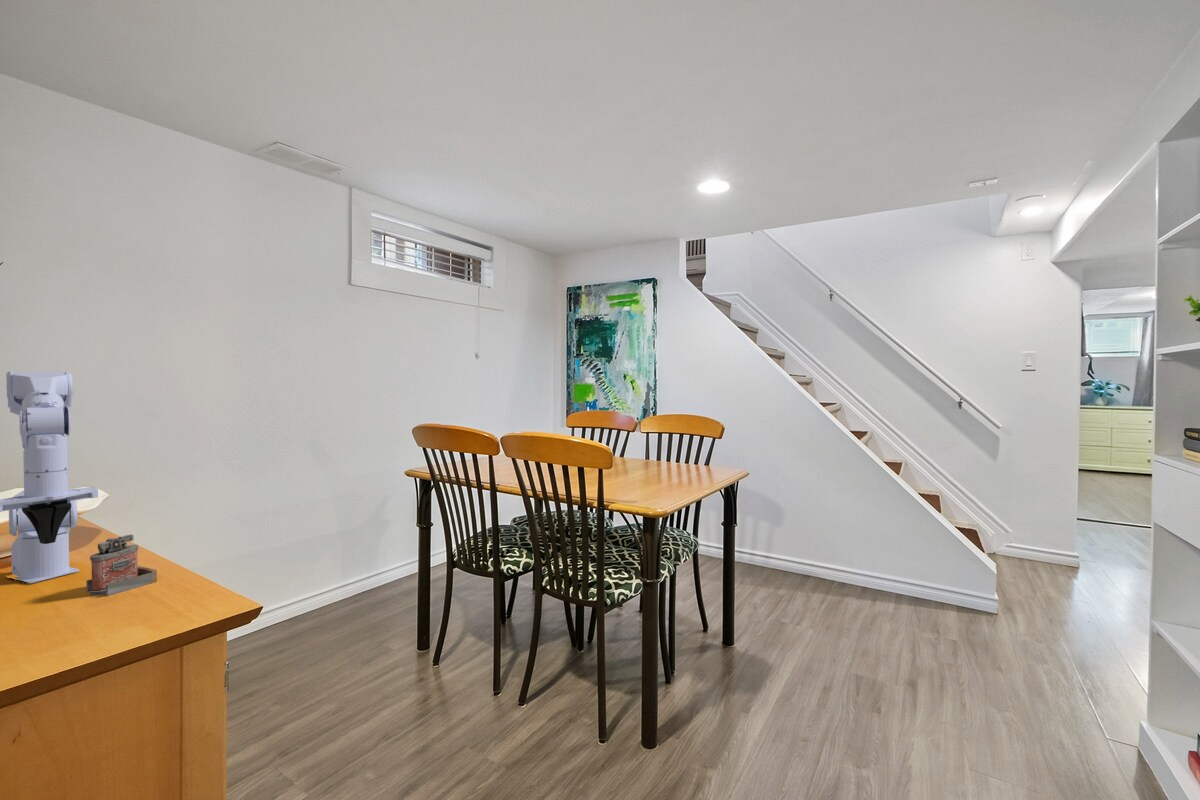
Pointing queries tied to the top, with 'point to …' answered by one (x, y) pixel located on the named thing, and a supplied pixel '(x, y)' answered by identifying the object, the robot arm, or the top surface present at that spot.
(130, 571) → the lighter
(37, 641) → the top surface
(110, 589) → the keeper
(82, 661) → the top surface
